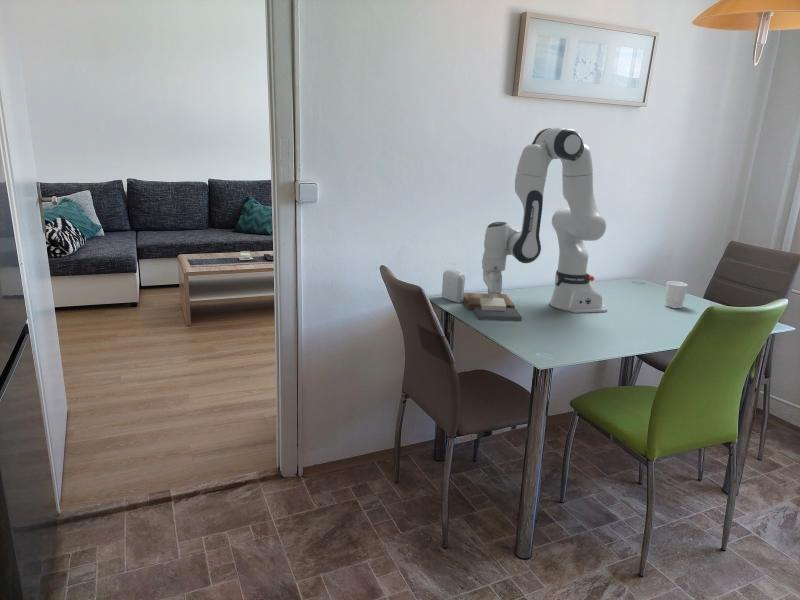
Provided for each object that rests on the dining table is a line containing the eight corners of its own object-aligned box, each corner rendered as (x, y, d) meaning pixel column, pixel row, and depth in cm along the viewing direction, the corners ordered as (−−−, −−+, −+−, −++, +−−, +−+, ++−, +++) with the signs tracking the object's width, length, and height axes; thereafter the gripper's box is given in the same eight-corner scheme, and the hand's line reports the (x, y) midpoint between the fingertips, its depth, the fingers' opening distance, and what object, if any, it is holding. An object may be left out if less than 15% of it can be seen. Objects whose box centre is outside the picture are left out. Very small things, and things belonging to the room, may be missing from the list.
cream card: (502, 302, 225) (503, 298, 224) (505, 310, 220) (506, 306, 219) (479, 302, 225) (480, 297, 224) (481, 310, 220) (482, 305, 219)
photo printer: (440, 297, 240) (441, 268, 237) (447, 296, 243) (449, 267, 239) (456, 303, 232) (459, 273, 229) (464, 302, 235) (467, 272, 231)
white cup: (673, 303, 246) (677, 280, 244) (687, 308, 239) (692, 285, 236) (658, 304, 244) (662, 281, 241) (672, 309, 237) (676, 286, 234)
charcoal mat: (514, 311, 225) (515, 308, 224) (521, 320, 214) (521, 316, 214) (473, 310, 224) (474, 306, 223) (478, 319, 213) (478, 315, 213)
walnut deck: (505, 300, 240) (506, 294, 240) (514, 311, 225) (515, 305, 224) (462, 298, 239) (463, 292, 239) (468, 310, 224) (468, 304, 223)
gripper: (507, 271, 212) (503, 307, 216) (497, 259, 232) (494, 292, 236) (490, 270, 212) (487, 306, 216) (481, 258, 232) (478, 291, 236)
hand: (490, 299), depth 226 cm, fingers closed
